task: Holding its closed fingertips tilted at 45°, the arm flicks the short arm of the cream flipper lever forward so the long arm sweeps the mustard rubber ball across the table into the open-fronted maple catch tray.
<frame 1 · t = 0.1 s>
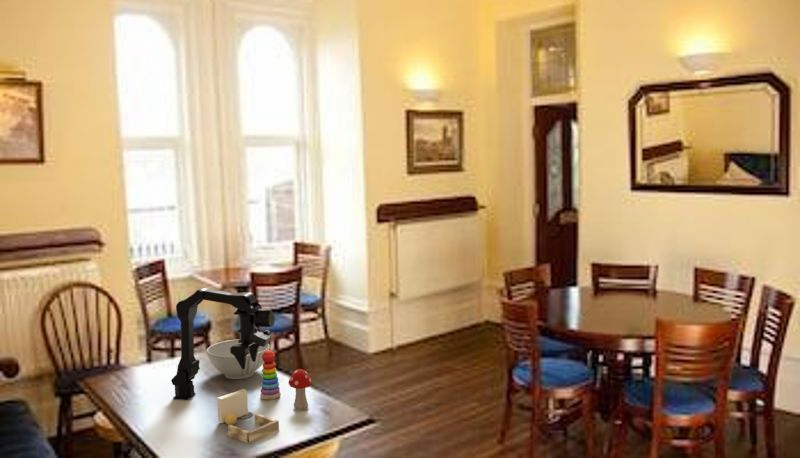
hand: (248, 365, 262), 15 cm above the table, tool pointing down, fingers open, 9 cm apart
catch tray: (253, 432, 235), on the table
decorative bowl: (239, 374, 296), on the table
lever: (232, 405, 246), point 5 cm above the table, hinge at 0.0°
pivot plate: (243, 415, 250), on the table
ball: (230, 419, 242), point 2 cm above the table
stacking toy: (270, 397, 269), on the table
decorative mushroom: (301, 408, 257), on the table
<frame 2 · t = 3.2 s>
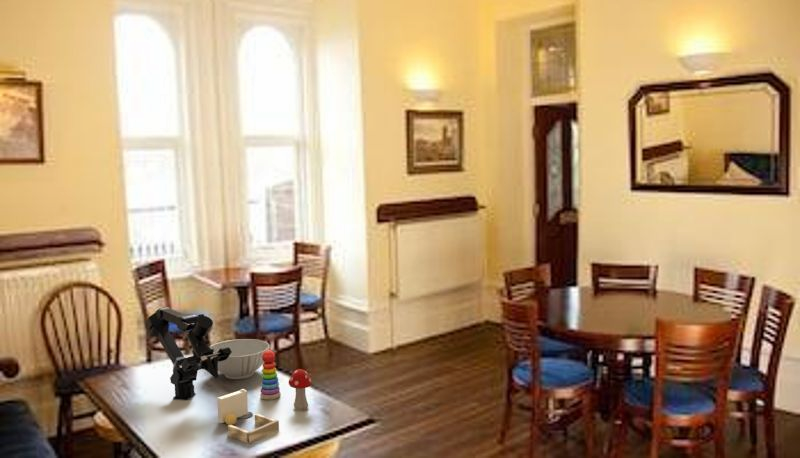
hand: (216, 377, 253), 13 cm above the table, tool tilted 45°, fingers closed
nothing on the table moved.
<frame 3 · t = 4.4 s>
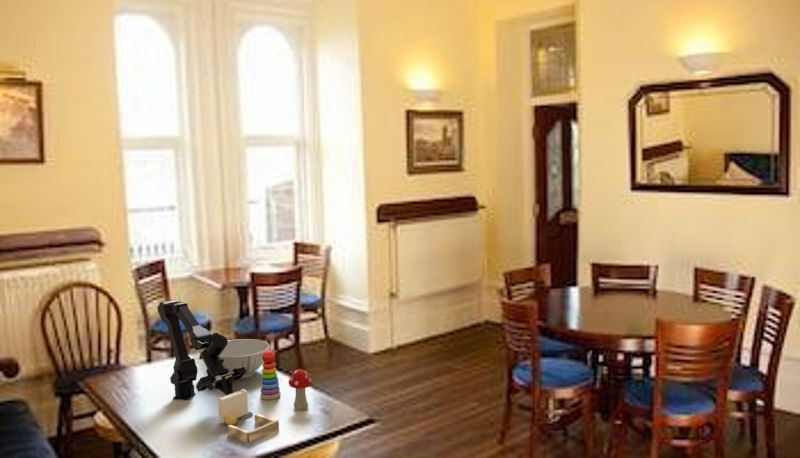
hand: (231, 397, 247), 8 cm above the table, tool tilted 45°, fingers closed, pressing on lever
lever: (233, 405, 246), point 5 cm above the table, hinge at 4.4°, touching ball, gripper
ball: (230, 419, 242), point 2 cm above the table, touching lever
everything else where it was.
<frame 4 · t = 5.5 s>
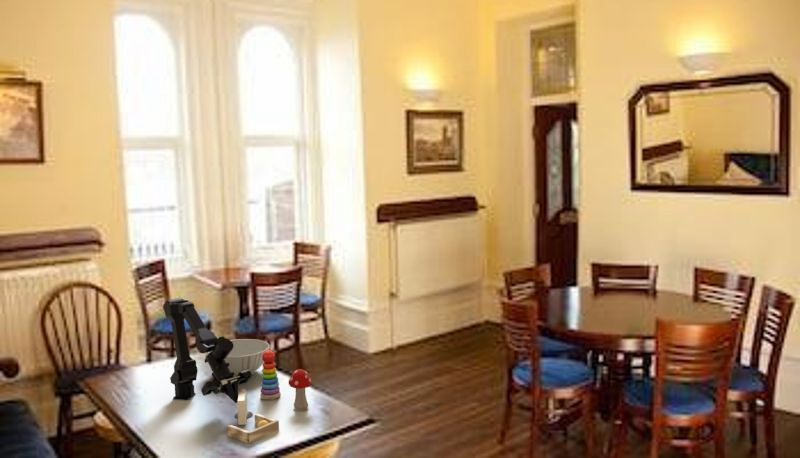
hand: (237, 402, 245), 7 cm above the table, tool tilted 45°, fingers closed
lever: (242, 406, 245), point 5 cm above the table, hinge at 51.3°, touching gripper
ball: (263, 426, 236), point 2 cm above the table, tilted 40°
everything else where it was.
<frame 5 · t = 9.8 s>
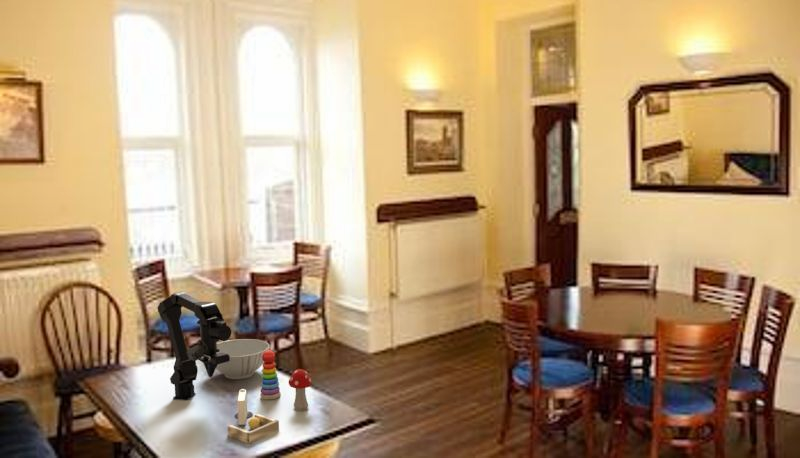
hand: (210, 376, 258), 12 cm above the table, tool pointing down, fingers closed
lever: (242, 406, 245), point 5 cm above the table, hinge at 51.6°
ball: (253, 423, 238), point 2 cm above the table, tilted 90°
everything else where it was.
at the end: ball 3.7 cm from the catch tray (horizontally); ball point 2.0 cm above the table; lever at +52° (first picture: +0°) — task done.
